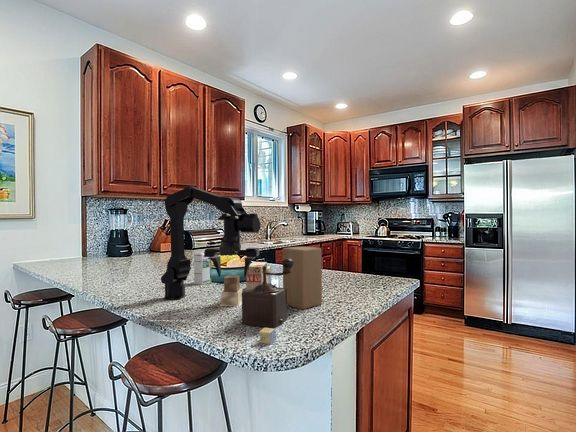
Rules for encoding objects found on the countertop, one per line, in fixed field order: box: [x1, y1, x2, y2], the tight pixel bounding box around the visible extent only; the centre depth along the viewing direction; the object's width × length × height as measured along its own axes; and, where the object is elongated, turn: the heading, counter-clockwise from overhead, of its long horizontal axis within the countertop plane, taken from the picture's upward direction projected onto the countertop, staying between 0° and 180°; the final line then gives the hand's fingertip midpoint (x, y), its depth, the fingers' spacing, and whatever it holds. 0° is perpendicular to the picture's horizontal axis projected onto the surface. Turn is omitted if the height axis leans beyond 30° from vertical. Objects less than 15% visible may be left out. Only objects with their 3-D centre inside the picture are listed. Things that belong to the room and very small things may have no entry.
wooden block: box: [282, 245, 323, 310], centre depth 119 cm, size 10×10×20 cm
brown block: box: [223, 274, 241, 292], centre depth 120 cm, size 4×4×5 cm
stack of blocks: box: [245, 261, 272, 291], centre depth 140 cm, size 21×6×12 cm, turn 173°
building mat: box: [219, 302, 242, 307], centre depth 119 cm, size 13×15×1 cm
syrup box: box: [193, 251, 212, 286], centre depth 159 cm, size 6×6×14 cm
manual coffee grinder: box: [241, 258, 293, 329], centre depth 102 cm, size 16×11×18 cm
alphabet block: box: [259, 328, 277, 345], centre depth 84 cm, size 3×3×3 cm
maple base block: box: [220, 288, 243, 305], centre depth 120 cm, size 6×6×4 cm
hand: (232, 276), depth 120 cm, fingers open, 9 cm apart
